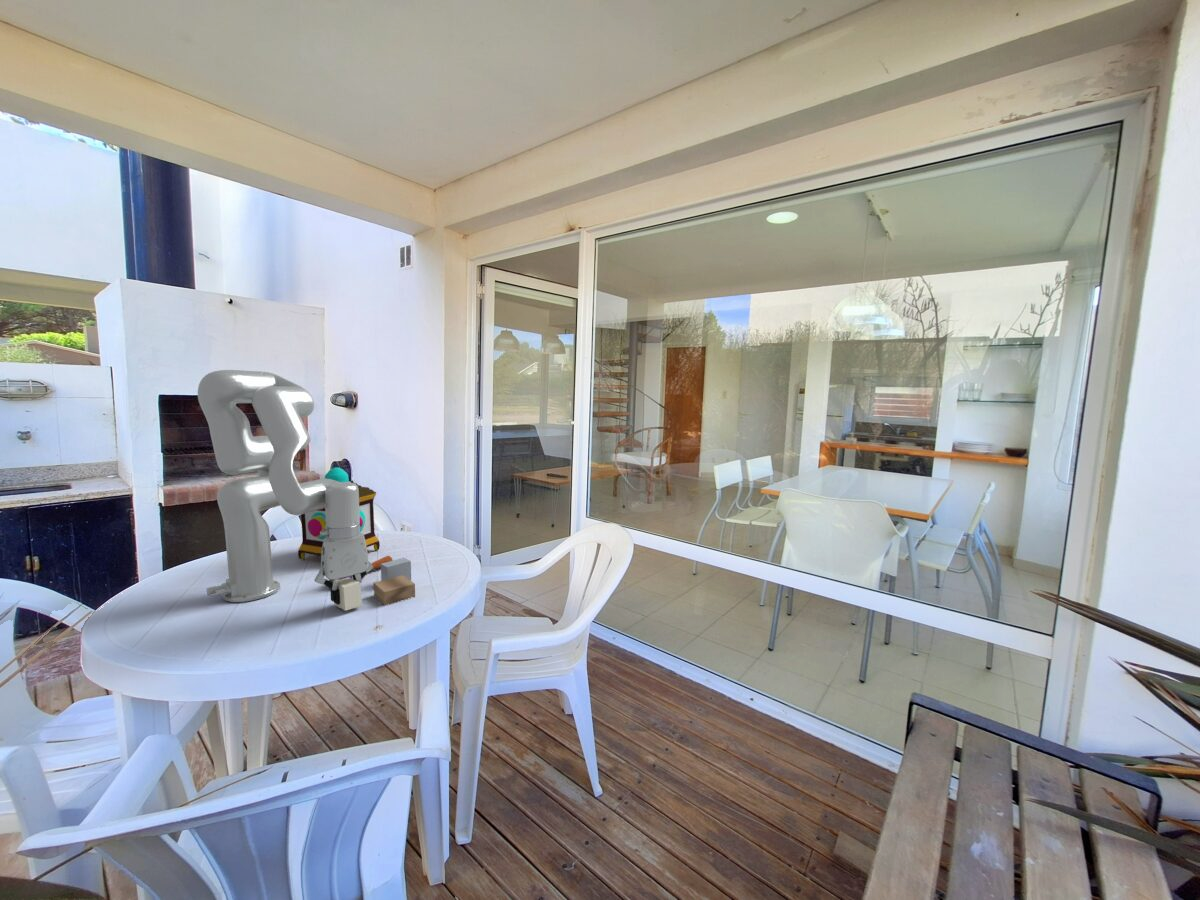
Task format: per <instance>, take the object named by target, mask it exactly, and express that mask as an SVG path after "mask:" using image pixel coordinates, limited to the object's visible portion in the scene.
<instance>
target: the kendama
mask: <svg viewBox="0 0 1200 900" xmlns="http://www.w3.org/2000/svg"><path fill="white" fill-rule="evenodd" d="M393 560H394V559H393V558H392V557H391V556H390V555H385V556H384V557H381V558H380V559H378V560H376V561H373V562H370V563H371V564H372V566H373V568H372V569H371V570H377V569H381V564H382V563H386V562H389V561H393ZM371 570H370V571H371ZM348 577H349V578H351V579H353V578H352V576H348ZM348 577H344V578H348ZM344 578H340V579H339V580H341V579H344Z"/></svg>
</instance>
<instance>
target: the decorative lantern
mask: <svg viewBox="0 0 1200 900" xmlns="http://www.w3.org/2000/svg"><path fill="white" fill-rule="evenodd" d="M324 479H332V480H335V481H338V482H351V483H355V484H356V485H357V486H358V489H359V516H360V533H362V534H364V538H365V542H366V547H367V548H369V547H373V549H374V551H375V550H378V551H379V550H380V548H381V547H380V546H381V545H380V544H381V543H380V540H379V538H378V537H377V536H376V534H375V516H374V515H375V512H374V510H375V509H374V499H375V498H376V495H377V492H376V491H374V490H373V489H370V487H367V486H362V485H361V484H360V485H359V484H358V483H357V482H354V480H352V479H351V480H350V479H349V474H348V472H346V471H345V470H344V469H343V468H341V467H332V468H331V469H329V470H328V472H326V474H325V475H324ZM300 516H301V517H300V518H301V521H300V522H301V534H302V542H301V544H300V546H299V548H298V551H297V553H298V554H297V555H298V559H299V560H300V559H303V560H304V559H305V558H306V554H309V555H314V556H320V557H321V553H322V546H323V541H324V538H327V537H326V536H321V535H320V531H323V530H325V526H326V513H325V508H323V509H319V510H315V511H312V512H309V513H305V514H302V515H300Z"/></svg>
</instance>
